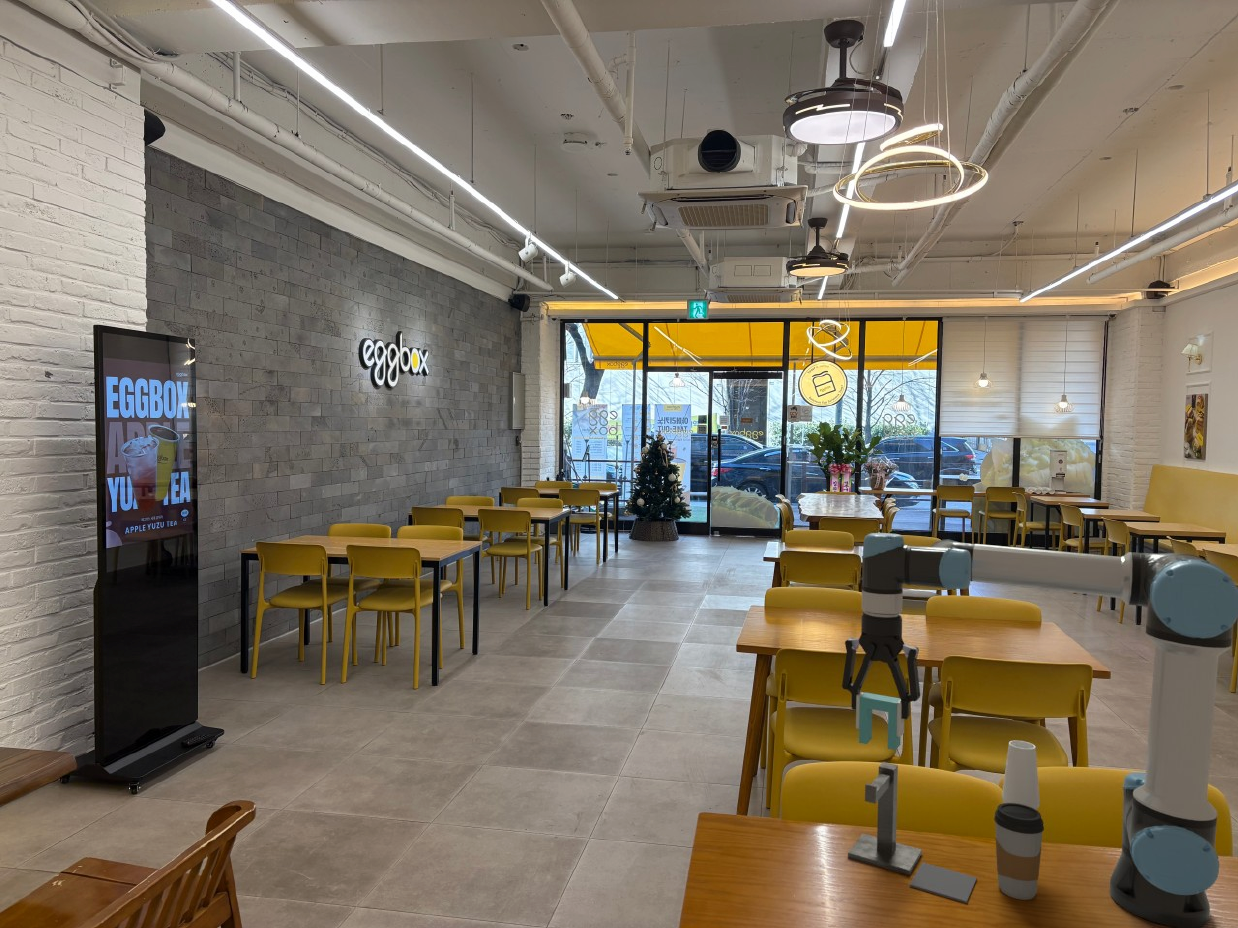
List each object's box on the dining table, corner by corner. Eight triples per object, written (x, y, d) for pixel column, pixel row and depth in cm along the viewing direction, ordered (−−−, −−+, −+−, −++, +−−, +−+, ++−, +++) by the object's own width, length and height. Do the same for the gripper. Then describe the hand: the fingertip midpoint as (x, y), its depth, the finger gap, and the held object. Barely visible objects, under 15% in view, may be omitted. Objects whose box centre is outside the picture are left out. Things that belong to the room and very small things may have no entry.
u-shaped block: (900, 744, 157) (901, 698, 156) (895, 750, 154) (896, 703, 153) (864, 737, 160) (864, 692, 160) (858, 742, 157) (859, 696, 157)
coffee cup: (1048, 906, 146) (1050, 823, 145) (998, 900, 147) (1000, 818, 147) (1034, 882, 154) (1036, 804, 154) (987, 876, 155) (989, 799, 155)
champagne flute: (1029, 877, 156) (1032, 753, 155) (994, 863, 161) (997, 743, 160) (1043, 865, 160) (1046, 745, 160) (1009, 852, 165) (1012, 736, 165)
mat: (976, 879, 154) (976, 877, 154) (966, 903, 146) (966, 901, 146) (922, 863, 160) (922, 861, 160) (909, 886, 152) (909, 884, 152)
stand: (921, 854, 164) (923, 765, 163) (900, 890, 150) (903, 793, 150) (862, 837, 170) (864, 752, 170) (837, 871, 157) (839, 778, 156)
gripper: (940, 616, 154) (937, 735, 155) (837, 604, 165) (835, 715, 166) (931, 622, 148) (928, 747, 148) (825, 610, 159) (823, 725, 159)
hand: (879, 730), depth 157 cm, fingers closed on u-shaped block, 7 cm apart
